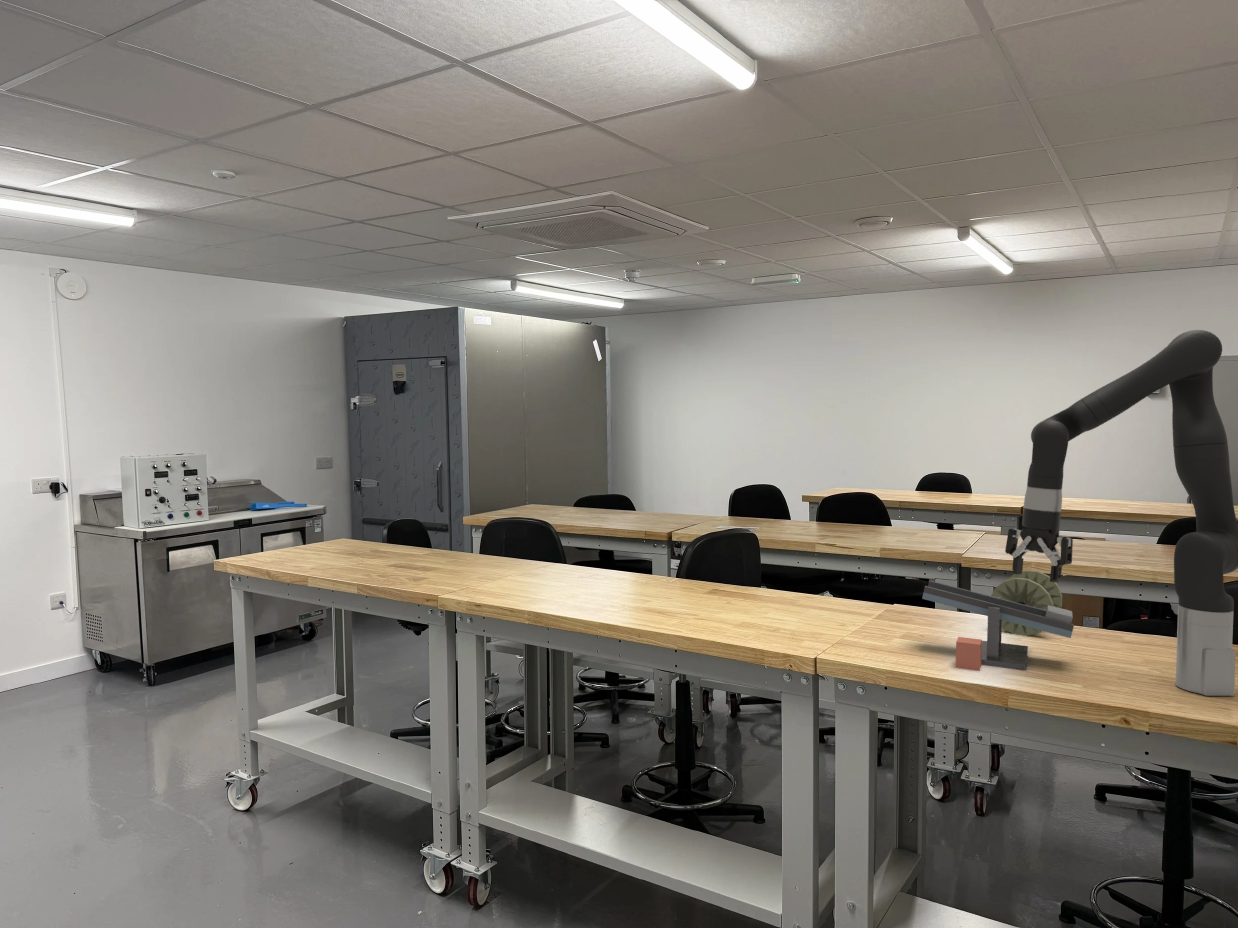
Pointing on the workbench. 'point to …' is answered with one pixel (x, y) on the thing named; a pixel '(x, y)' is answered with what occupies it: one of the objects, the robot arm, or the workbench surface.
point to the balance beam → (1002, 608)
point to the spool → (1028, 596)
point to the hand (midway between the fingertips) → (1035, 577)
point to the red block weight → (968, 653)
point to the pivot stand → (1001, 646)
